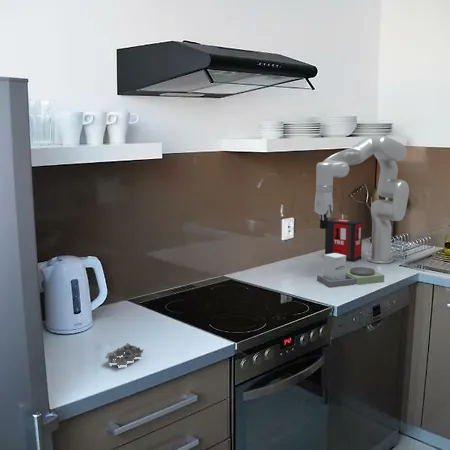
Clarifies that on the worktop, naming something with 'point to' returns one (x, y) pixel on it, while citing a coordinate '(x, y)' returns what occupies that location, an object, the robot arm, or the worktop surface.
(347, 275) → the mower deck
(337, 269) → the supplement box
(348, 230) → the cleaning product box
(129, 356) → the grey lumpy cluster
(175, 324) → the worktop surface
